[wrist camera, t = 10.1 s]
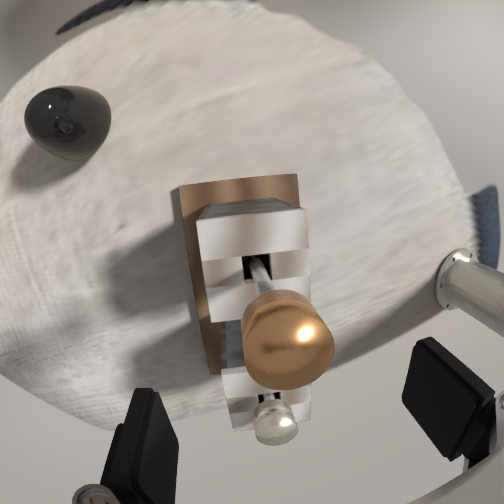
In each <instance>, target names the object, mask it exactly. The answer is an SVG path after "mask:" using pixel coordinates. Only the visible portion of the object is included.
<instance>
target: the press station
mask: <svg viewBox="0 0 504 504" xmlns="http://www.w3.org/2000/svg"><path fill="white" fill-rule="evenodd" d="M179 194H180V202H181V210H182V217H183V225H184V232H185V239H186V246H187V252H188V259H189V265H190V271H191V277H192V283H193V289H194V295H195V300H196V306H197V311H198V316H199V322H200V327H201V332H202V337H203V342H204V347H205V352H206V356H207V361H208V365H209V370H210V374H211V375H212V374H221V376H222V380H223V385H224V390H225V395H226V400H227V404H228V409H229V413H230V417H231V422H232V427H233V431H234V432H235V431H244V430H252V429H255V425H254V419H253V411H254V409H255V408H256V407H257V406H258V405H259V404H260V403H262V402H264V398H263V394H267V393H274V396H275V399H280V400H284V401H286V402H288V403H289V404H290V405H291V407H292V411H293V414H294V417H295V420H296V423H297V422H302V421H307V420H310V408H311V383H310V384H308V385H306V386H303V387H301V388H298V389H293V390H285V391H280V390H272V389H269V388H266V387H263V386H261V385H260V384H258V383H257V382H255V381H254V380H253V379H252V378H251V376H250V375H249V373H248V371H247V369H246V366H245V360H244V352H243V345H242V337H241V328H240V324H241V318H242V315H243V313H244V311H245V309H246V308H247V306H248V305H249V304H250V303H251V302H252V301H253V300H254V299H255V298H257V297H258V294H257V291H256V288H255V284H254V281H253V279H247V280H244V275H243V266H242V257H241V256H250V255H258V254H266V253H269V262H270V273H271V277H269V278H270V280H271V282H272V284H273V286H274V288H275V290H279V289H285V290H292V291H295V292H297V293H300V294H301V295H303V296H304V297H305V298H307V299H308V300H309V302H310V303H311V293H310V266H309V245H308V227H307V212H306V209H304V208H301V207H300V203H299V190H298V179H297V174H284V175H272V176H260V177H250V178H240V179H230V180H222V181H213V182H205V183H197V184H190V185H183V186H179Z"/></svg>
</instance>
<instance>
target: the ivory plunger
mask: <svg viewBox="0 0 504 504" xmlns="http://www.w3.org/2000/svg"><path fill="white" fill-rule="evenodd" d="M263 398H264V402H262V403H260V404H259V405H258V406H257V407H256V408H255V409H254V411H253V419H254V425H255V432H256V438H257V440H258V441H259V442H261V443H263V444H266V445H280V444H284V443H286V442H289V441H290V440H292V439H293V438H294V437H295V436H296V435H297V432H298V427H297V423H296V420H295V417H294V414H293V411H292V407H291V405H290V404H289V403H288V402H286V401H284V400H280V399H275V396H274V393H267V394H263Z"/></svg>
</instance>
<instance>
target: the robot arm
mask: <svg viewBox="0 0 504 504" xmlns="http://www.w3.org/2000/svg"><path fill="white" fill-rule="evenodd" d="M436 298H437V301H438V302H439V304H440V305H441V306H442V307H443V308H445V309H447V310H454V309H457V308H460V309H462V310H463V311H465V312H466V313H468V314H469V315H471V316H472V317H474V318H475V319H477V320H478V321H480V322H481V323H483V324H484V325H486V326H487V327H489V328H490V329H492V330H493V331H495V332H496V333H498V334H499V335H501V336H502V337H504V273H502V272H499V271H497V270H495V269H493V268H491V267H488V266H486V265H483V264H481V263H479V262H478V261H477V258H476V256H475V254H474V253H473V252H472V251H470V250H468V249H463V248H462V249H458V250H456V251H454V252H453V253H451V254H450V255H449V256H448V257H447V259H446V260H445V261H444V263H443V265H442V266H441V268H440V271H439V273H438V277H437V280H436ZM494 394H495V391H494V390H493V389H491V387H489V386H488V385H487V384H486V383H485V382H484V381H483V380H482V379H481V378H479V377H478V376H477V375H476V374H475V373H474V372H473V371H471V370H470V369H469V368H468V367H467V366H466V365H465V364H463V363H462V362H461V361H460V360H459V359H457V358H456V357H455V356H454V355H453V354H452V353H450V352H449V351H448V350H447V349H446V348H445V347H443V346H442V345H441V344H440V343H439V342H437V341H436V340H435V339H434V338H432V337H427V338H424V339H421V340H419V341H417V343H416V345H415V346H414V347H413V350H412V355H411V360H410V365H409V369H408V373H407V378H406V382H405V386H404V389H403V393H402V402H403V404H404V405H405V407H406V408H407V409H408V410H409V412H410V413H411V414H412V416H413V417H414V418H415V420H416V421H417V422H418V424H419V425H420V426H421V428H422V429H423V430H424V432H425V433H426V434H427V436H428V437H429V438H430V440H431V441H432V442H433V444H434V445H435V446H436V448H437V449H438V450H439V452H440V453H441V454H442V456H444V457H447V458H448V459H449V461H450V462H451V461H453V460H454V459H456V458H458V457H459V456H461V454H463V455H464V457H465V459H464V467H463V473H462V474H461V475H459V476H457V477H456V478H454V479H453V480H451V481H449V482H448V483H446V484H444V485H442V486H441V487H439V488H437V489H435V490H434V491H432V492H430V493H428V494H426V495H424V496H422V497H421V498H418V499H416V500H414V501H412V502H410V503H408V504H504V391H503V392H501V393H499V395H498V396H497V397H496V398H495V397H494ZM178 452H179V444H178V439H177V437H176V435H175V432H174V430H173V428H172V425H171V423H170V420H169V418H168V415H167V413H166V410H165V408H164V405H163V403H162V400H161V397H160V395H159V393H158V392H154V391H153V389H152V388H136V389H135V390H134V393H133V396H132V399H131V402H130V405H129V408H128V412H127V415H126V418H125V421H124V423H120V424H119V425H118V426H117V428H116V431H115V434H114V437H113V440H112V443H111V447H110V450H109V453H108V457H107V460H106V463H105V467H104V470H103V474H102V478H101V481H100V485H99V484H88V485H84V486H82V487H81V488H79V489H78V490H77V491H76V492H75V494H74V496H73V498H72V504H175V492H176V477H177V463H178Z"/></svg>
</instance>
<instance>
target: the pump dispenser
mask: <svg viewBox="0 0 504 504" xmlns="http://www.w3.org/2000/svg"><path fill="white" fill-rule="evenodd" d="M24 122H25V127H26V129H27V132H28V134H29V135H30V137H31V138H32V139H33V140H34V142H35V143H37V144H38V145H39V146H40V147H41V148H43V149H44V150H46V151H47V152H49V153H50V154H52V155H54V156H57V157H59V158H62V159H65V160H72V161H75V160H81V159H84V158H86V157H88V156H90V155H92V154H93V153H94V152H95V151H96V150H97V149H98V148H99V147H100V146H101V145H102V144H103V143H104V141H105V140H106V138H107V136H108V134H109V131H110V127H111V110H110V106H109V104H108V102H107V100H106V99H105V98H104V96H102V95H101V94H100V93H98V92H97V91H95V90H92V89H89V88H85V87H81V86H71V85H65V86H55V87H51V88H48V89H45V90H43V91H41V92H40V93H38V94H37V95H35V96H34V97H33V98H32V99H31V101H30V102H29V104H28V105H27V108H26V110H25V115H24Z"/></svg>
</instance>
